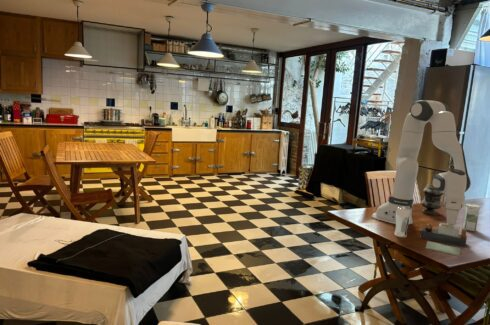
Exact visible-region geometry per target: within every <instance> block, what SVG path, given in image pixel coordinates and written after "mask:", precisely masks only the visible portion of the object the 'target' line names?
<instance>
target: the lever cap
mask: <svg viewBox="0 0 490 325" xmlns="http://www.w3.org/2000/svg"><path fill="white" fill-rule="evenodd" d="M448 229H449V224H447V222H446V223H444V222H440V223H439V224H438V229H437V230H438V233H439V234H444V235H449V236H453V237H458V236H459V234H460V229H461V227H460V226H456V225H454V226H453V232H449V231H448Z"/></svg>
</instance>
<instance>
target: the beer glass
mask: <svg viewBox="0 0 490 325" xmlns="http://www.w3.org/2000/svg"><path fill="white" fill-rule="evenodd" d="M410 216H411V208H409V207H406V206H397V210H396V224H395V230H394V233H393V234H394V236H396V237H398V238H407V236H408V233H407V231H408V226H409V225H410V224H409V221H410Z"/></svg>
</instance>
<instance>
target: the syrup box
mask: <svg viewBox="0 0 490 325" xmlns="http://www.w3.org/2000/svg"><path fill="white" fill-rule="evenodd" d="M464 208H465V209H464V214H463V221H462V228H463V229H467V231H469V232H476V231H477V226H478V220H479V214H480V208H481V207H480V205H478V204H476V203H475V204H474V203H468V202H467V203H466V204H465V207H464Z"/></svg>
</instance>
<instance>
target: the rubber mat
mask: <svg viewBox="0 0 490 325" xmlns="http://www.w3.org/2000/svg"><path fill="white" fill-rule="evenodd" d="M425 249H427V250H431V251H435V252H439V253H445V254H448V255H454V256H456V257H457V256H458V257H460V254H461V247H458V246H452V245H449V244H448V245H447V244H444V243H440V242H436V241H431V240H427V243H426V246H425Z"/></svg>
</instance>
